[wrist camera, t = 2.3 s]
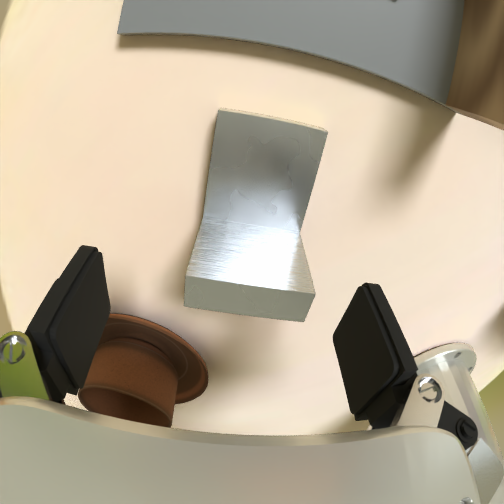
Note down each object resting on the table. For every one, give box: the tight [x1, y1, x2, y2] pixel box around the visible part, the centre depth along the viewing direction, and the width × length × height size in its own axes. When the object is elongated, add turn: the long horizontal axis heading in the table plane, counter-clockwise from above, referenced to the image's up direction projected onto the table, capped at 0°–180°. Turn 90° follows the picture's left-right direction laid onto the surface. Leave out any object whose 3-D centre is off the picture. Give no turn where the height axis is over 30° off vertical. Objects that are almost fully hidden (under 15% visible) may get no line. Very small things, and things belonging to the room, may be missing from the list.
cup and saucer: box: [78, 314, 208, 428], centre depth 21 cm, size 12×12×6 cm
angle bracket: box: [184, 108, 328, 322], centre depth 13 cm, size 7×5×6 cm
